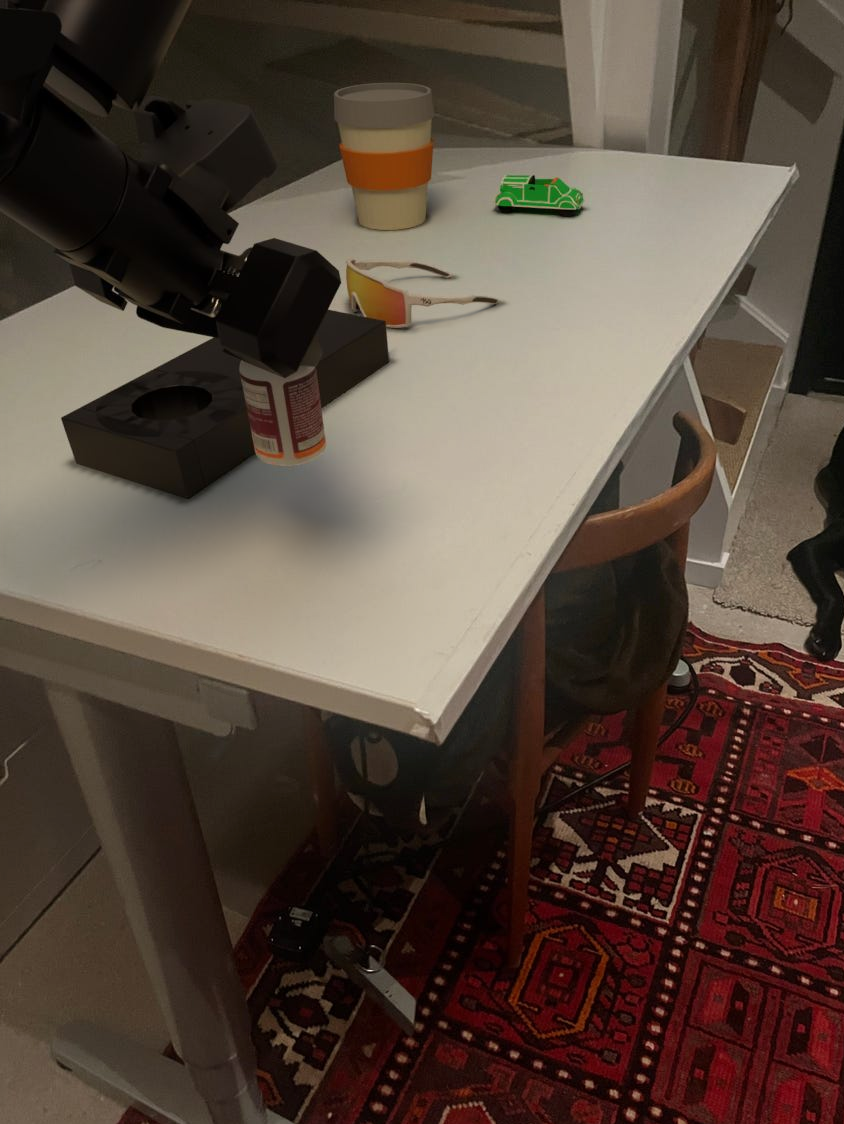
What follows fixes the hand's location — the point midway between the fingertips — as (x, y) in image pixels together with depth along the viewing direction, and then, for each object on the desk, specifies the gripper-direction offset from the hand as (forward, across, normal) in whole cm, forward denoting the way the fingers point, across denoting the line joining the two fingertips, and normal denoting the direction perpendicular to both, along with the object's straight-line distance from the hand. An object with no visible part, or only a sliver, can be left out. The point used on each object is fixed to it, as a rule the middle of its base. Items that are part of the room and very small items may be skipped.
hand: (293, 349), depth 58 cm
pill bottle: (+4, 0, +6) cm, 7 cm away
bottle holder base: (+15, +20, +3) cm, 25 cm away
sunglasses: (+35, +25, -16) cm, 46 cm away
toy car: (+60, +36, -42) cm, 81 cm away
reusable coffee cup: (+49, +49, -31) cm, 76 cm away
